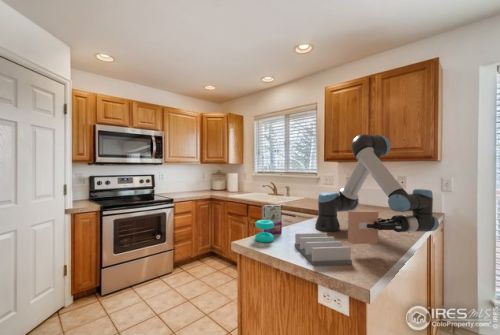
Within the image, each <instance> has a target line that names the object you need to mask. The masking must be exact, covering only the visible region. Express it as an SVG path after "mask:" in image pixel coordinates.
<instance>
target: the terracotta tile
mask: <svg viewBox="0 0 500 335" xmlns="http://www.w3.org/2000/svg"><path fill="white" fill-rule="evenodd" d="M347 213H348V214H347V218H348V219H347V242H348V243H350V244H352V245H363V244H364V245H366V244H379V230H378V229H374V228H373V229H359V222H373V224H374V221H376V222H377V223H378V218H379V211H378V210H374V209H368V210H366V209H364V210H361V209H358V210H356V209H355V210H348V211H347Z"/></svg>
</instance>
